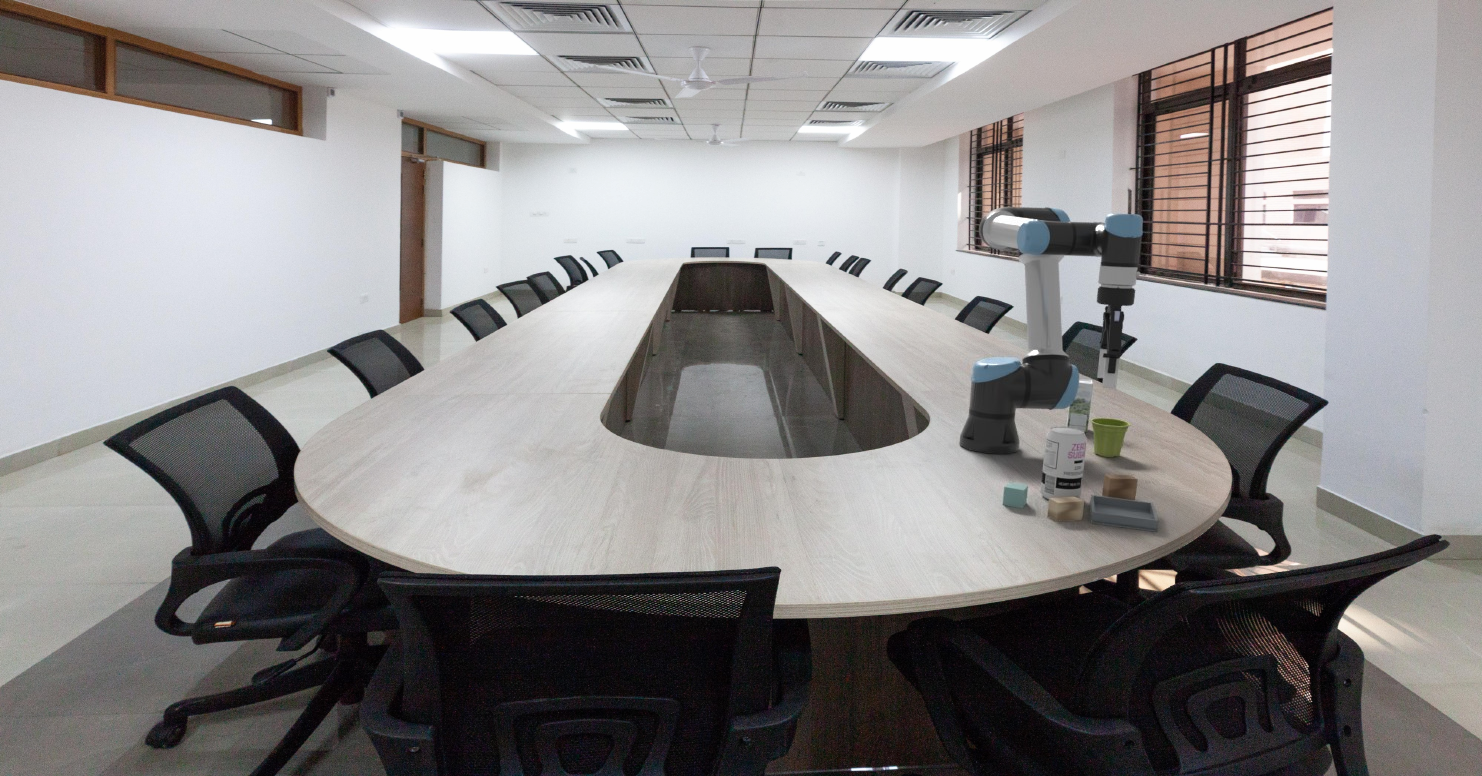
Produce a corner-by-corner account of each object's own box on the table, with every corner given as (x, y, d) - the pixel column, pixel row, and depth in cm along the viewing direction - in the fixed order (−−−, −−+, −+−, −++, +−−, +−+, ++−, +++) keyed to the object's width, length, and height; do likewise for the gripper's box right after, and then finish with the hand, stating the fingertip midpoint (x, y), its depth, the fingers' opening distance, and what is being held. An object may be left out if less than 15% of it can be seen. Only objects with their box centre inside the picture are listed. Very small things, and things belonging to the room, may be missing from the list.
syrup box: (1087, 428, 261) (1092, 379, 258) (1087, 433, 255) (1093, 382, 253) (1066, 426, 263) (1071, 377, 260) (1066, 430, 257) (1071, 380, 254)
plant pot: (1086, 456, 230) (1090, 423, 229) (1087, 448, 239) (1091, 416, 237) (1126, 461, 227) (1130, 427, 225) (1125, 452, 235) (1129, 420, 234)
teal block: (1002, 505, 189) (1004, 486, 189) (1007, 500, 193) (1009, 482, 192) (1022, 508, 188) (1023, 490, 187) (1026, 503, 191) (1028, 485, 190)
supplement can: (1046, 489, 201) (1053, 423, 198) (1084, 496, 197) (1091, 430, 194) (1035, 498, 195) (1042, 430, 192) (1074, 506, 190) (1082, 437, 187)
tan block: (1056, 521, 180) (1058, 502, 179) (1047, 516, 183) (1049, 498, 182) (1082, 520, 182) (1084, 501, 181) (1072, 515, 185) (1074, 496, 184)
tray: (1091, 522, 180) (1092, 511, 179) (1089, 505, 191) (1090, 494, 190) (1156, 531, 176) (1158, 520, 175) (1151, 513, 187) (1152, 502, 187)
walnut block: (1107, 500, 195) (1110, 478, 194) (1101, 496, 198) (1104, 474, 197) (1135, 501, 195) (1137, 479, 194) (1129, 497, 198) (1131, 475, 197)
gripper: (1142, 291, 182) (1130, 394, 186) (1129, 283, 206) (1118, 375, 210) (1103, 289, 184) (1092, 391, 188) (1094, 282, 208) (1084, 372, 212)
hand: (1106, 383), depth 199 cm, fingers open, 13 cm apart
